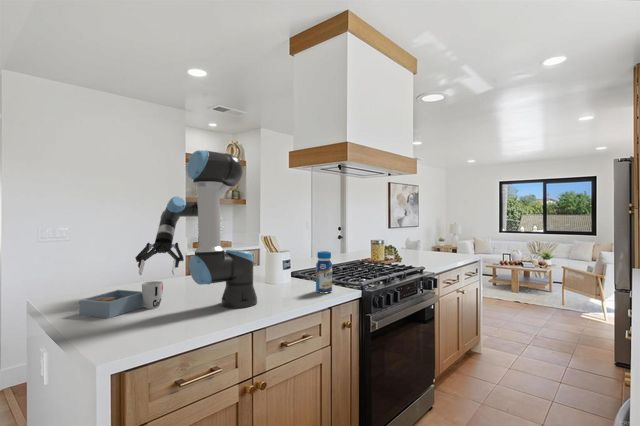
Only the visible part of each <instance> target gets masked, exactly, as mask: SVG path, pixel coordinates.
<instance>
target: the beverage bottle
mask: <svg viewBox="0 0 640 426" xmlns="http://www.w3.org/2000/svg"><path fill="white" fill-rule="evenodd" d="M316 257H317V259H318V260H317V262H316V264H315V267H316V269H315V292H316V293H317V292H321V293H320V294H323V293H325V292H331V291H332V292H333V271H334V270H333V263H332V261H331V258H332V252H331V251H324V250H323V251H321V250H320V251H317V256H316ZM332 292H331V293H332Z"/></svg>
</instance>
